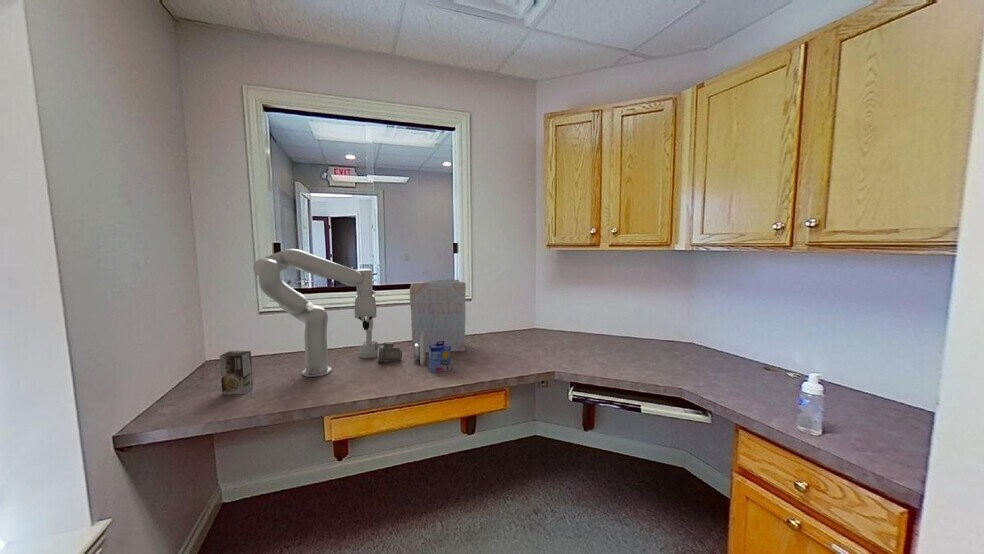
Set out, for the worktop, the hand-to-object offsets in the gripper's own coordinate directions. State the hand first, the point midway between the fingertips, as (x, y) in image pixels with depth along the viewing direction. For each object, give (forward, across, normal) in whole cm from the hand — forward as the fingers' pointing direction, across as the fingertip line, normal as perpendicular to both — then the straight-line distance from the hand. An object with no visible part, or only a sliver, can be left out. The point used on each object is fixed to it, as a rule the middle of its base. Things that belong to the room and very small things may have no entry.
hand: (366, 329), depth 196 cm
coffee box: (+16, +44, +36) cm, 59 cm away
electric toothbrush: (+17, +2, -12) cm, 21 cm away
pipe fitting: (+17, -12, 0) cm, 21 cm away
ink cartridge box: (+17, -38, +15) cm, 44 cm away
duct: (+17, -26, 0) cm, 32 cm away
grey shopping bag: (+18, -34, -24) cm, 45 cm away
